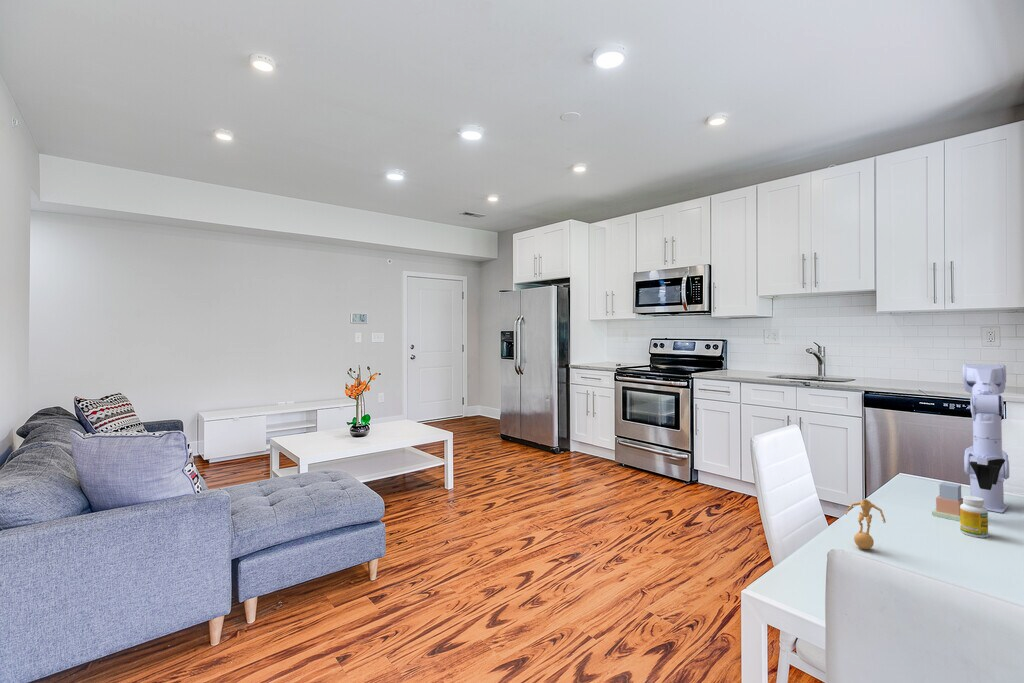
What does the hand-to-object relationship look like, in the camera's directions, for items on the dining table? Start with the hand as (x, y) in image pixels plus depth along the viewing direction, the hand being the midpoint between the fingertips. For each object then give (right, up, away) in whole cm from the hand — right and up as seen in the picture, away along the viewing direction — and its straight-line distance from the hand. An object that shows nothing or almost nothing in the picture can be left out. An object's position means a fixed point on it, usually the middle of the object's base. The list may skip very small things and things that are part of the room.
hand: (988, 486), depth 135 cm
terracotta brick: (-5, -9, +7) cm, 12 cm away
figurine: (-44, -11, -14) cm, 48 cm away
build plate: (-5, -11, +6) cm, 13 cm away
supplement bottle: (-10, -11, -7) cm, 16 cm away
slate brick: (-5, -5, +6) cm, 10 cm away
